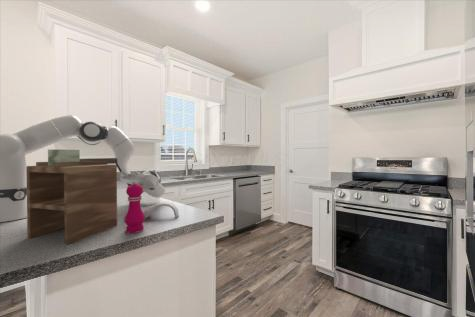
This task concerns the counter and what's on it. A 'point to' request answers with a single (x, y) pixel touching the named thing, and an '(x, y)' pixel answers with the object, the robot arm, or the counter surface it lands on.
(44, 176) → the walnut shelf
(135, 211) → the pepper mill
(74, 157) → the block
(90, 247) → the counter surface
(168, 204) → the spoon rest
